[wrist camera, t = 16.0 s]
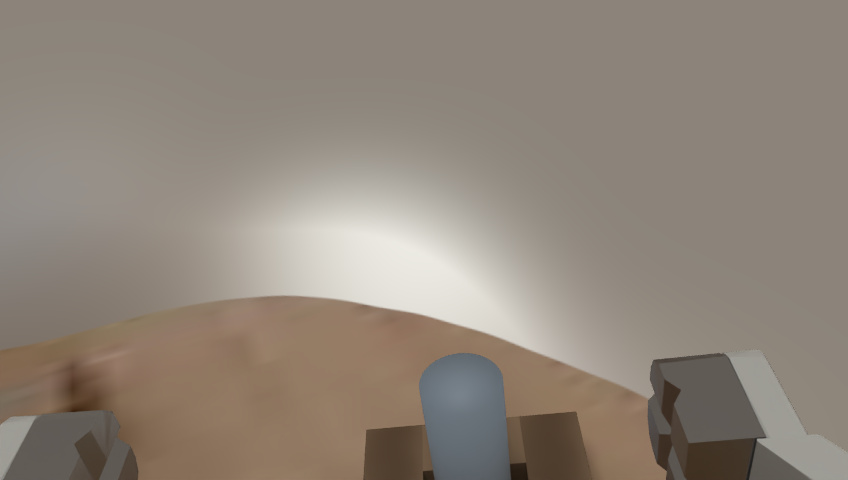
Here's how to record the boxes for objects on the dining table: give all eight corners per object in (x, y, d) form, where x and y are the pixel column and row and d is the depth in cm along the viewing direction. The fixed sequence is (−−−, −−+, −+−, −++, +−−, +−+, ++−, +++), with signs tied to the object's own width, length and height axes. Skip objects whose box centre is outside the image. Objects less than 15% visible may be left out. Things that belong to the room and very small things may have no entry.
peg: (433, 557, 45) (402, 387, 37) (478, 511, 47) (458, 341, 39) (485, 600, 43) (464, 428, 35) (531, 550, 45) (520, 377, 37)
